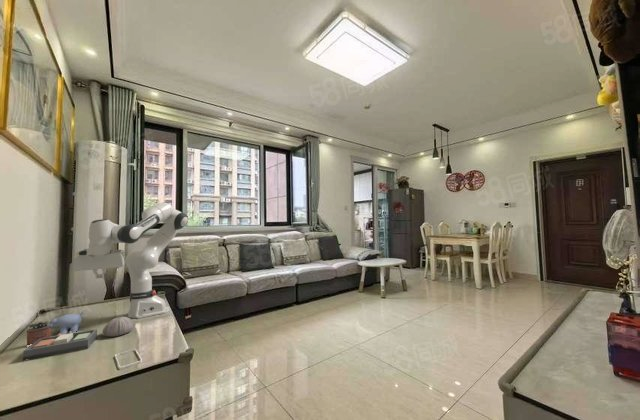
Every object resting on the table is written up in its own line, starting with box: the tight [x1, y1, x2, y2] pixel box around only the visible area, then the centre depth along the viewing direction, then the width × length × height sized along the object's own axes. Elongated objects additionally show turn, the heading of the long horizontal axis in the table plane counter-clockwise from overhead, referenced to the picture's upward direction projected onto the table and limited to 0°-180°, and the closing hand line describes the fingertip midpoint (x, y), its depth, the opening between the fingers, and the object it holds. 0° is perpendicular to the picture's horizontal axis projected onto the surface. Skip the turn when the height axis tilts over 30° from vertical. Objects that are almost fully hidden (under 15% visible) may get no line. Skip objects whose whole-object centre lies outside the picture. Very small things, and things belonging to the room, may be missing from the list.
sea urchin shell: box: [102, 316, 136, 338], centre depth 137 cm, size 13×14×8 cm
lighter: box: [26, 321, 52, 345], centre depth 127 cm, size 8×3×10 cm, turn 141°
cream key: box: [54, 332, 74, 345], centre depth 121 cm, size 4×7×2 cm, turn 27°
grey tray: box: [22, 328, 98, 361], centre depth 121 cm, size 21×14×4 cm, turn 117°
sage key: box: [73, 332, 91, 341], centre depth 124 cm, size 4×7×2 cm, turn 27°
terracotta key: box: [33, 338, 55, 348], centre depth 118 cm, size 4×7×2 cm, turn 27°
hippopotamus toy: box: [47, 309, 85, 335], centre depth 142 cm, size 11×15×10 cm
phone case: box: [114, 348, 143, 370], centre depth 108 cm, size 7×1×15 cm
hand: (99, 277), depth 135 cm, fingers closed
